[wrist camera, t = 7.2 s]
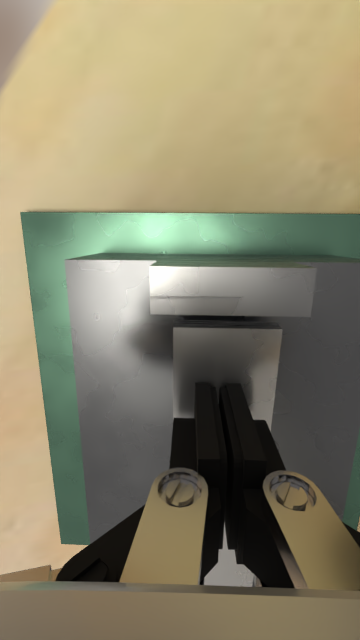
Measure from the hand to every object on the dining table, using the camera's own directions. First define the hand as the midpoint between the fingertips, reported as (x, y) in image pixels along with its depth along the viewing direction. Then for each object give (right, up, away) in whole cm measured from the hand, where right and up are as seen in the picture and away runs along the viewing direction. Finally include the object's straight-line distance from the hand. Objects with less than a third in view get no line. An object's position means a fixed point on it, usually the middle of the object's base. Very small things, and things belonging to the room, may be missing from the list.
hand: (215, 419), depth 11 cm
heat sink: (+1, -1, +8) cm, 8 cm away
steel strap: (0, -3, +2) cm, 4 cm away
